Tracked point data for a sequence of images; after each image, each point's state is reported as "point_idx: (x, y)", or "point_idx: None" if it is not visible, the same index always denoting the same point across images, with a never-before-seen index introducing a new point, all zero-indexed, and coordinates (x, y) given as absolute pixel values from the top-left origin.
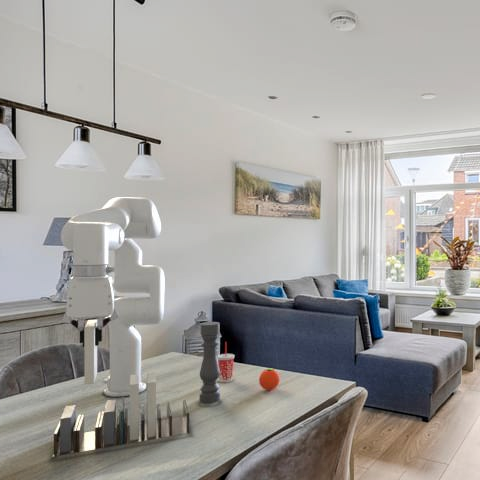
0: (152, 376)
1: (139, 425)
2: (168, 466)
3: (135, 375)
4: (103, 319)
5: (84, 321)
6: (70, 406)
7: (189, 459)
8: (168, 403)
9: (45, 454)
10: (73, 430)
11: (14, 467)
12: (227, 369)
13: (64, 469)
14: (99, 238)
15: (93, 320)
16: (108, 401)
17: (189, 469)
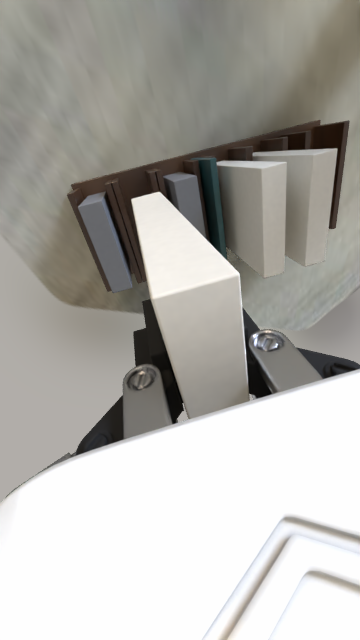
0: (323, 205)
1: (225, 156)
2: (270, 312)
3: (277, 179)
4: (313, 375)
5: (169, 418)
6: (93, 212)
7: (295, 298)
8: (308, 145)
9: (82, 249)
10: (137, 280)
11: (59, 288)
12: None
13: (142, 304)
14: None
15: (213, 319)
16: (181, 190)
17: (291, 321)
